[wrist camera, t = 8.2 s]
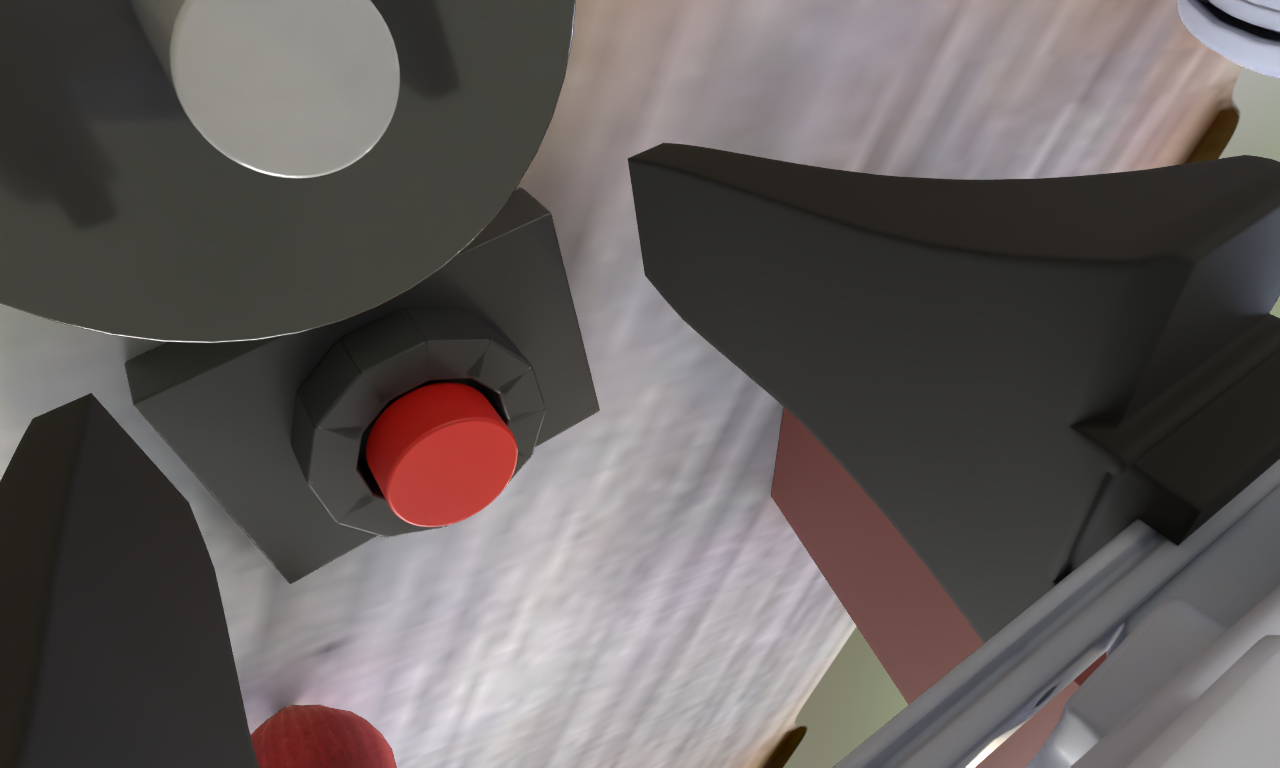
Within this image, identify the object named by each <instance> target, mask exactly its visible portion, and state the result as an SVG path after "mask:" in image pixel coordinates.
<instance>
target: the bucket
mask: <svg viewBox="0 0 1280 768" xmlns="http://www.w3.org/2000/svg"><path fill="white" fill-rule="evenodd" d="M771 497H772V498H773V500H774V501H775V503H776V504H777V506H778V507H779V509H780V510H781V512H782V513H783V515H784V516H785V518H786V519H787V521H788V522H789V524H790V525H791V527H792V528H793V530H794V531H795V533H796V534H797V536H798V538H799V539H800V541H801V542H802V544H803V545H804V547H805V548H806V550H807V551H808V553H809V554H810V556H811V557H812V559H813V560H814V562H815V563H816V565H817V566H818V568H819V569H820V571H821V572H822V574H823V576H824V577H825V579H826V580H827V582H828V583H829V585H830V586H831V588H832V589H833V591H834V592H835V594H836V595H837V597H838V598H839V600H840V601H841V603H842V604H843V606H844V607H845V609H846V610H847V612H848V613H849V615H850V617H851V618H852V620H853V621H854V623H855V624H856V626H857V627H858V629H859V630H860V632H861V633H862V635H863V636H864V638H865V639H866V641H867V642H868V644H869V645H870V647H871V648H872V650H873V651H874V653H875V654H876V656H877V658H878V659H879V661H880V662H881V664H882V665H883V667H884V668H885V670H886V671H887V673H888V674H889V676H890V677H891V679H892V680H893V682H894V683H895V685H896V686H897V688H898V689H899V691H900V692H901V694H902V696H903V697H904V699H905V700H906V702H907V703H908V705H910V704H911V703H912V702H913V701H914V700H916V699H917V698H918V697H919V696H921V695H922V694H923V693H924V692H926V691H927V690H928V689H929V688H930V687H932V686H933V685H934V684H935V683H937V682H938V681H939V680H940V679H941V678H943V677H944V676H945V675H946V674H948V673H949V672H950V671H951V670H953V669H954V668H955V667H956V666H957V665H959V664H960V663H961V662H962V661H964V660H965V659H966V658H967V657H968V656H970V655H971V654H972V653H973V652H975V651H976V650H977V649H978V648H980V647H981V646H982V645H983V644H984V643H983V642H982V640H981V639H980V637H979V636H978V635H977V633H976V632H975V630H974V629H973V628H972V626H971V625H970V623H969V622H968V620H967V619H966V618H965V616H964V615H963V614H962V613H961V611H960V610H959V609H958V607H957V606H956V605H955V603H954V602H953V601H952V599H951V598H950V597H949V595H948V594H947V593H946V591H945V590H944V589H943V587H942V586H941V585H940V583H939V582H938V581H937V579H936V578H935V577H934V575H933V574H932V573H931V571H930V570H929V569H928V568H927V566H926V565H925V564H924V562H923V561H922V560H921V559H920V558H919V556H918V555H917V554H916V553H915V551H914V550H913V549H912V548H911V546H910V545H909V544H908V543H907V542H906V540H905V539H904V538H903V537H902V535H901V534H900V533H899V532H898V531H897V529H896V528H895V527H894V526H893V524H892V523H891V522H890V521H889V520H888V518H887V517H886V516H885V515H884V513H883V512H882V511H881V510H880V509H879V508H878V506H877V505H876V504H875V503H874V502H873V501H872V500H871V498H870V497H869V496H868V495H867V494H866V493H865V492H864V490H863V489H862V488H861V487H860V486H859V485H858V484H857V482H856V481H855V480H854V479H853V478H852V477H851V476H850V474H849V473H848V472H847V471H846V470H845V469H844V468H843V466H842V465H841V464H840V463H839V462H838V461H837V460H836V459H835V458H834V457H833V456H832V455H831V454H830V453H829V451H828V450H827V449H826V448H825V447H824V446H823V445H822V444H821V443H820V442H819V441H818V440H817V439H816V438H815V437H814V435H813V434H812V433H811V432H810V431H809V430H808V429H807V428H806V427H805V426H804V425H803V424H802V423H801V422H800V421H799V420H798V419H797V418H796V417H795V416H794V415H793V414H792V413H790V412H789V411H788V410H787V409H786V408H785V407H784V408H783V415H782V422H781V429H780V436H779V443H778V450H777V457H776V464H775V471H774V478H773V485H772V492H771ZM1106 652H1107V651H1106ZM1106 652H1105V653H1104V654H1103V655H1101V656H1100V657H1099V658H1098V659H1097V660H1096V661H1095V662H1094V663H1092V664H1091V665H1090V666H1089V667H1088V668H1087V669H1086V670H1084V671H1083V672H1082V673H1081V674H1080V675H1079V676H1078V677H1077V678H1075V679H1074V680H1073V681H1072V682H1071V683H1070V684H1069V685H1067V686H1066V687H1065V688H1064V689H1063V690H1062V691H1061V692H1060V693H1058V694H1057V695H1056V696H1055V697H1054V698H1053V699H1052V700H1050V701H1049V702H1048V703H1047V704H1046V705H1045V706H1044V707H1043V708H1041V709H1040V710H1039V711H1038V712H1037V713H1036V714H1035V715H1033V716H1032V717H1031V718H1030V719H1029V720H1028V721H1027V722H1026V723H1024V724H1023V725H1022V726H1021V727H1020V728H1019V729H1018V730H1016V731H1015V732H1014V733H1013V734H1012V735H1011V736H1010V737H1009V738H1007V739H1006V740H1005V741H1004V742H1003V743H1002V744H1001V745H999V746H998V747H997V748H996V749H995V750H994V751H993V752H992V753H990V754H989V755H988V756H987V757H986V758H985V759H984V760H982V761H981V762H980V763H979V764H978V765H977V766H976V767H974V768H1026V767H1027V766H1028V765H1029V763H1030V762H1031V761H1032V759H1033V758H1034V757H1035V755H1036V754H1037V753H1038V752H1039V750H1040V749H1041V748H1042V746H1043V745H1044V744H1045V742H1046V741H1047V739H1048V737H1049V736H1050V734H1051V733H1052V731H1053V729H1054V728H1055V726H1056V725H1057V723H1058V721H1059V720H1060V718H1061V715H1062V712H1063V709H1064V706H1065V703H1066V701H1067V700H1068V699H1069V697H1070V696H1071V695H1072V694H1073V693H1074V692H1075V691H1076V690H1077V689H1078V688H1079V687H1080V686H1081V685H1082V684H1083V683H1084V682H1085V681H1086V679H1087V678H1088V677H1089V676H1090V675H1091V674H1092V673H1093V672H1094V671H1095V670H1096V669H1097V668H1098V667H1099V666H1100V665H1101V664H1102V663H1103V662H1104V660H1105V659H1106V658H1107V657H1106Z"/></svg>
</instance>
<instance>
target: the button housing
mask: <svg viewBox="0 0 1280 768" xmlns="http://www.w3.org/2000/svg"><path fill="white" fill-rule="evenodd" d="M125 368H126V373H127V378H128V382H129V387H130V392H131V396H132V401H133V405H134V406H135V407H136V408H137V409H138V410H139V412H140V413H141V414H142V415H143V416H144V417H145V418H146V420H147V421H148V422H149V423H150V424H151V425H152V426H153V428H154V429H155V430H156V431H157V432H158V433H159V434H160V436H161V437H162V438H163V439H164V440H165V441H166V443H167V444H168V445H169V446H170V447H171V448H172V449H173V451H174V452H175V453H176V454H177V455H178V456H179V457H180V459H181V460H182V461H183V462H184V463H185V464H186V465H187V467H188V468H189V469H190V470H191V471H192V472H193V473H194V475H195V476H196V477H197V478H198V479H199V480H200V482H201V483H202V484H203V485H204V486H205V487H206V488H207V490H208V491H209V492H210V493H211V494H212V495H213V496H214V498H215V499H216V500H217V501H218V502H219V503H220V504H221V506H222V507H223V508H224V509H225V510H226V511H227V513H228V514H229V515H230V516H231V517H232V518H233V519H234V521H235V522H236V523H237V524H238V525H239V526H240V527H241V529H242V530H243V531H244V532H245V533H246V534H247V535H248V537H249V538H250V539H251V540H252V541H253V542H254V543H255V545H256V546H257V547H258V548H259V549H260V550H261V552H262V553H263V554H264V555H265V556H266V557H267V558H268V560H269V561H270V562H271V563H272V564H273V565H274V566H275V568H276V569H277V570H278V571H279V572H280V573H281V574H282V576H283V577H284V578H285V579H286V580H287V581H288V583H290V584H292V583H294V582H295V581H297V580H299V579H301V578H303V577H304V576H306V575H308V574H310V573H312V572H313V571H315V570H317V569H319V568H320V567H322V566H324V565H326V564H328V563H329V562H331V561H333V560H335V559H336V558H338V557H340V556H342V555H344V554H345V553H347V552H349V551H351V550H353V549H354V548H356V547H358V546H360V545H361V544H363V543H365V542H367V541H369V540H370V539H372V538H374V537H376V536H377V535H379V536H383V537H386V536H387V537H393V536H398V535H404V534H409V533H415V532H421V531H426V530H432V529H438V528H442V527H443V526H438V527H422V526H416V525H412V524H410V523H407V522H405V521H404V520H402V519H400V518H399V517H398V516H396V515H395V514H394V513H393V511H392V510H391V509H390V507H389V505H388V503H387V501H386V499H385V497H384V495H383V493H382V491H381V489H380V487H379V485H378V483H377V481H376V480H375V478H374V476H373V474H372V472H371V470H370V468H369V466H368V462H367V459H366V446H367V440H368V436H369V434H370V431H371V429H372V427H373V425H374V423H375V422H376V420H377V419H378V418H379V416H380V415H381V414H382V413H383V412H384V410H385V409H386V408H387V407H388V406H390V405H391V404H392V403H393V402H394V401H396V400H397V399H398V398H400V397H401V396H403V395H405V394H406V393H408V392H410V391H412V390H415V389H417V388H419V387H422V386H425V385H429V384H434V383H441V382H454V383H461V384H464V385H468V386H470V387H472V388H475V389H476V390H478V391H479V392H481V393H482V394H483V395H484V396H485V397H486V399H487V400H488V401H489V403H490V404H491V405H492V407H493V408H494V409H495V411H496V412H497V413H498V415H499V416H500V417H501V419H502V420H503V421H504V423H505V424H506V425H507V427H508V428H509V430H510V431H511V432H512V434H513V435H514V437H515V440H516V443H517V450H518V457H517V464H516V468H515V470H514V473H513V475H512V477H511V479H512V478H513V477H514V476H515V475H516V474H517V472H518V471H519V470H520V469H521V468H522V467H523V465H524V464H525V463H526V462H527V461H528V460H529V458H530V457H531V455H532V454H533V451H534V448H535V447H536V446H538V445H540V444H542V443H543V442H545V441H547V440H549V439H550V438H552V437H554V436H556V435H558V434H559V433H561V432H563V431H565V430H567V429H568V428H570V427H572V426H574V425H575V424H577V423H579V422H581V421H583V420H584V419H586V418H588V417H590V416H592V415H593V414H595V413H597V412H599V411H600V409H599V405H598V401H597V397H596V393H595V389H594V385H593V381H592V377H591V373H590V369H589V365H588V361H587V357H586V353H585V349H584V344H583V340H582V336H581V332H580V328H579V324H578V320H577V316H576V312H575V308H574V304H573V300H572V296H571V292H570V288H569V284H568V280H567V276H566V272H565V268H564V264H563V260H562V256H561V252H560V248H559V244H558V240H557V236H556V232H555V228H554V223H553V219H552V215H551V213H550V212H549V211H548V210H547V209H546V208H545V207H544V206H542V205H541V204H540V203H539V202H538V201H537V200H535V199H534V198H533V197H532V196H531V195H530V194H528V193H527V192H526V191H525V190H524V189H523V188H521V189H518V190H516V191H514V192H513V193H512V194H511V196H510V197H509V198H508V200H507V201H506V202H505V204H504V205H503V207H502V208H501V209H500V211H499V212H498V213H497V215H496V216H495V217H494V218H493V219H492V220H491V221H490V222H489V224H488V225H487V226H486V227H485V228H484V229H483V230H482V231H481V232H480V233H479V234H478V235H477V236H476V238H475V239H474V240H473V241H472V242H471V243H470V244H469V245H467V246H466V247H465V248H464V249H463V250H462V251H461V252H459V253H458V254H457V255H456V256H455V257H454V258H452V259H451V260H450V261H449V262H448V263H447V264H445V265H444V266H443V267H442V268H440V269H439V270H437V271H436V272H434V273H433V274H432V275H430V276H429V277H427V278H426V279H424V280H423V281H421V282H420V283H418V284H417V285H415V286H414V287H412V288H411V289H409V290H407V291H405V292H404V293H402V294H400V295H398V296H396V297H394V298H392V299H390V300H388V301H387V302H385V303H383V304H381V305H379V306H377V307H375V308H372V309H370V310H367V311H365V312H362V313H360V314H357V315H355V316H352V317H350V318H347V319H345V320H342V321H340V322H336V323H333V324H329V325H325V326H322V327H318V328H315V329H311V330H308V331H304V332H300V333H295V334H289V335H283V336H277V337H272V338H266V339H260V340H250V341H235V342H220V343H191V342H171V343H168V344H166V345H164V346H162V347H159V348H157V349H155V350H152V351H150V352H148V353H146V354H143V355H141V356H139V357H137V358H134V359H132V360H130V361H127V362H126V363H125ZM511 479H510V480H511ZM509 482H510V481H509ZM509 482H508V483H509ZM446 526H448V525H445V526H444V527H446Z"/></svg>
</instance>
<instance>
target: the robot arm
mask: <svg viewBox="0 0 1280 768" xmlns="http://www.w3.org/2000/svg"><path fill="white" fill-rule="evenodd" d="M1177 4H1178V13H1179V15H1180V18H1181V20H1182V23H1183V24H1184V26H1185V27H1186V28H1187V29H1188V30H1189V32H1190V33H1191V34H1192V35H1193V36H1194V37H1195V38H1197V39H1198V40H1199V41H1200V42H1202V43H1203V44H1204V45H1206V46H1207V47H1208V48H1210V49H1212V50H1213V51H1215V52H1217V53H1219V54H1221V55H1222V56H1224V57H1225V58H1227V59H1228V60H1230V61H1232V62H1234V63H1236V64H1238V65H1240V66H1242V67H1244V68H1247V69H1249V70H1252V71H1255V72H1258V73H1261V74H1264V75H1268V76H1271V77H1275V78H1279V79H1280V0H1177ZM628 163H629V170H630V177H631V184H632V191H633V197H634V204H635V211H636V218H637V225H638V231H639V238H640V245H641V252H642V259H643V265H644V272H645V276H646V277H647V278H648V279H649V281H650V282H651V283H652V284H653V285H654V287H655V288H656V289H657V290H658V291H659V293H660V294H661V295H662V296H663V297H664V299H665V300H666V301H667V302H668V303H669V304H670V305H671V307H672V308H673V309H674V310H675V311H676V312H677V313H678V314H679V315H680V317H681V318H682V319H683V320H684V321H685V322H686V323H687V324H689V325H690V326H691V327H692V328H693V329H694V330H695V331H696V332H698V333H699V334H700V335H701V336H702V337H703V338H705V339H706V340H707V341H708V342H709V343H710V344H711V345H713V346H714V347H715V348H716V349H717V350H718V351H719V352H721V353H722V354H723V355H724V356H725V357H727V358H728V359H729V360H730V361H731V362H732V363H734V364H735V365H736V366H737V367H738V368H740V369H741V370H742V371H743V372H744V373H745V374H747V375H748V376H749V377H750V378H751V379H752V380H754V381H755V382H756V383H757V384H758V385H760V386H761V387H762V388H763V389H764V390H765V391H767V392H768V393H769V394H770V395H771V396H773V397H774V398H775V399H776V400H777V401H778V402H780V403H781V404H782V405H783V406H784V407H785V408H786V409H787V410H788V411H789V412H790V413H792V414H793V415H794V416H795V417H796V418H797V419H798V420H799V421H800V422H801V423H802V424H803V425H804V426H805V427H806V428H807V429H808V430H809V431H810V432H811V433H812V434H813V435H814V437H815V438H816V439H817V440H818V441H819V442H820V443H821V444H822V445H823V446H824V447H825V448H826V449H827V450H828V451H829V453H830V454H831V455H832V456H833V457H834V458H835V459H836V460H837V461H838V462H839V463H840V464H841V465H842V466H843V468H844V469H845V470H846V471H847V472H848V473H849V474H850V476H851V477H852V478H853V479H854V480H855V481H856V482H857V484H858V485H859V486H860V487H861V488H862V489H863V490H864V492H865V493H866V494H867V495H868V496H869V497H870V498H871V500H872V501H873V502H874V503H875V504H876V505H877V506H878V508H879V509H880V510H881V511H882V512H883V513H884V515H885V516H886V517H887V518H888V520H889V521H890V522H891V523H892V524H893V526H894V527H895V528H896V529H897V531H898V532H899V533H900V534H901V535H902V537H903V538H904V539H905V540H906V542H907V543H908V544H909V545H910V546H911V548H912V549H913V550H914V551H915V553H916V554H917V555H918V556H919V558H920V559H921V560H922V561H923V562H924V564H925V565H926V566H927V568H928V569H929V570H930V571H931V573H932V574H933V575H934V577H935V578H936V579H937V581H938V582H939V583H940V585H941V586H942V587H943V589H944V590H945V591H946V593H947V594H948V595H949V597H950V598H951V599H952V601H953V602H954V603H955V605H956V606H957V607H958V609H959V610H960V611H961V613H962V614H963V615H964V616H965V618H966V619H967V620H968V622H969V623H970V625H971V626H972V628H973V629H974V630H975V632H976V633H977V635H978V636H979V637H980V639H981V640H982V642H983V643H984V644H983V645H982V646H981V647H980V648H978V649H977V650H976V651H975V652H973V653H972V654H971V655H970V656H968V657H967V658H966V659H965V660H964V661H962V662H961V663H960V664H959V665H957V666H956V667H955V668H954V669H953V670H951V671H950V672H949V673H948V674H946V675H945V676H944V677H943V678H941V679H940V680H939V681H938V682H937V683H935V684H934V685H933V686H932V687H930V688H929V689H928V690H927V691H926V692H924V693H923V694H922V695H921V696H919V697H918V698H917V699H916V700H914V701H913V702H912V703H911V704H910V705H908V706H907V707H906V708H905V709H903V710H902V711H901V712H900V713H899V714H897V715H896V716H895V717H894V718H893V719H891V720H890V721H889V722H887V723H886V724H885V725H884V726H883V727H881V728H880V729H879V730H878V731H877V732H875V733H874V734H873V735H871V736H870V737H869V738H868V739H867V740H865V741H864V742H863V743H862V744H861V745H859V746H858V747H857V748H856V749H854V750H853V751H852V752H851V753H850V754H848V755H847V756H846V757H844V758H843V759H842V760H841V761H840V762H838V763H837V764H836V765H835V766H833V767H832V768H974V767H976V766H977V765H978V764H979V763H980V762H981V761H982V760H984V759H985V758H986V757H987V756H988V755H989V754H990V753H992V752H993V751H994V750H995V749H996V748H997V747H998V746H999V745H1001V744H1002V743H1003V742H1004V741H1005V740H1006V739H1007V738H1009V737H1010V736H1011V735H1012V734H1013V733H1014V732H1015V731H1016V730H1018V729H1019V728H1020V727H1021V726H1022V725H1023V724H1024V723H1026V722H1027V721H1028V720H1029V719H1030V718H1031V717H1032V716H1033V715H1035V714H1036V713H1037V712H1038V711H1039V710H1040V709H1041V708H1043V707H1044V706H1045V705H1046V704H1047V703H1048V702H1049V701H1050V700H1052V699H1053V698H1054V697H1055V696H1056V695H1057V694H1058V693H1060V692H1061V691H1062V690H1063V689H1064V688H1065V687H1066V686H1067V685H1069V684H1070V683H1071V682H1072V681H1073V680H1074V679H1075V678H1077V677H1078V676H1079V675H1080V674H1081V673H1082V672H1083V671H1084V670H1086V669H1087V668H1088V667H1089V666H1090V665H1091V664H1092V663H1094V662H1095V661H1096V660H1097V659H1098V658H1099V657H1100V656H1101V655H1103V654H1104V653H1105V652H1106V651H1107V652H1106V657H1107V658H1106V659H1105V660H1104V662H1103V663H1102V664H1101V665H1100V666H1099V667H1098V668H1097V669H1096V670H1095V671H1094V672H1093V673H1092V674H1091V675H1090V676H1089V677H1088V678H1087V679H1086V681H1085V682H1084V683H1083V684H1082V685H1081V686H1080V687H1079V688H1078V689H1077V690H1076V691H1075V692H1074V693H1073V694H1072V695H1071V696H1070V697H1069V699H1068V700H1067V701H1066V703H1065V706H1064V709H1063V712H1062V715H1061V718H1060V720H1059V721H1058V723H1057V725H1056V726H1055V728H1054V729H1053V731H1052V733H1051V734H1050V736H1049V737H1048V739H1047V741H1046V742H1045V744H1044V745H1043V746H1042V748H1041V749H1040V750H1039V752H1038V753H1037V754H1036V755H1035V757H1034V758H1033V759H1032V761H1031V762H1030V763H1029V765H1028V766H1027V767H1026V768H1280V318H1278V317H1275V316H1273V315H1271V314H1269V313H1270V311H1271V310H1272V308H1273V306H1274V304H1275V303H1276V301H1277V299H1278V298H1279V296H1280V162H1278V161H1275V160H1272V159H1268V158H1263V157H1257V156H1247V155H1242V156H1236V157H1229V158H1222V159H1215V160H1209V161H1202V162H1195V163H1188V164H1182V165H1175V166H1168V167H1161V168H1154V169H1148V170H1139V171H1130V172H1119V173H1109V174H1098V175H1087V176H1075V177H1059V178H1042V179H1004V180H952V179H932V178H913V177H897V176H885V175H875V174H867V173H859V172H851V171H843V170H835V169H827V168H821V167H814V166H808V165H801V164H795V163H789V162H784V161H778V160H772V159H767V158H761V157H756V156H750V155H745V154H739V153H733V152H728V151H722V150H717V149H711V148H704V147H698V146H691V145H683V144H672V143H662V144H660V145H658V146H655V147H653V148H651V149H649V150H646V151H644V152H642V153H639V154H637V155H635V156H633V157H630V158H628ZM0 768H259V765H258V762H257V758H256V754H255V751H254V747H253V743H252V739H251V736H250V732H249V728H248V724H247V719H246V714H245V710H244V705H243V700H242V695H241V691H240V686H239V681H238V676H237V671H236V667H235V662H234V657H233V652H232V647H231V643H230V638H229V633H228V628H227V624H226V619H225V614H224V610H223V605H222V601H221V596H220V591H219V587H218V583H217V578H216V574H215V569H214V566H213V564H212V561H211V558H210V556H209V553H208V550H207V548H206V545H205V542H204V539H203V537H202V534H201V532H200V529H199V527H198V524H197V522H196V519H195V517H194V514H193V512H192V509H191V507H190V504H189V502H188V501H187V500H186V499H185V498H184V497H183V495H182V494H181V493H180V492H179V491H178V490H177V489H176V488H175V486H174V485H173V484H172V483H171V482H170V481H169V480H168V479H167V477H166V476H165V475H164V474H163V473H162V472H161V471H160V470H159V469H158V467H157V466H156V465H155V464H154V463H153V462H152V461H151V460H150V458H149V457H148V456H147V455H146V454H145V453H144V452H143V451H142V449H141V448H140V447H139V446H138V445H137V444H136V443H135V442H134V440H133V439H132V438H131V437H130V436H129V435H128V434H127V433H126V432H125V430H124V429H123V428H122V427H121V426H120V425H119V424H118V423H117V421H116V420H115V419H114V418H113V417H112V416H111V415H110V414H109V412H108V411H107V410H106V409H105V408H104V407H103V406H102V405H101V404H100V402H99V401H98V400H97V399H96V398H95V397H94V396H93V395H92V393H90V394H88V395H86V396H84V397H81V398H79V399H77V400H74V401H72V402H70V403H68V404H65V405H63V406H61V407H58V408H56V409H54V410H52V411H49V412H47V413H45V414H42V415H40V416H38V417H36V418H33V420H32V421H31V423H30V425H29V426H28V428H27V430H26V432H25V433H24V435H23V437H22V439H21V441H20V443H19V445H18V447H17V449H16V451H15V453H14V455H13V457H12V459H11V461H10V463H9V465H8V467H7V469H6V471H5V473H4V475H3V477H2V479H1V482H0Z"/></svg>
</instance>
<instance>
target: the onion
mask: <svg viewBox="0 0 1280 768" xmlns="http://www.w3.org/2000/svg"><path fill="white" fill-rule="evenodd" d="M250 736H251V739H252V743H253V747H254V751H255V754H256V758H257V762H258V765H259V768H397V767H396V763H395V759H394V755H393V751H392V748H391V747H390V746H389V744H388V743H387V741H386V740H385V738H384V737H383V735H382V734H381V733H380V732H379V731H378V730H377V729H376V728H375V727H374V726H372V725H371V724H370V723H369V722H368V721H367V720H365V719H363V718H362V717H360V716H358V715H356V714H354V713H353V712H351V711H345V710H340V709H334V708H330V707H326V706H322V705H303V706H302V705H291V706H288V707H284V708H282V709H281V710H279V711H278V712H277V713H276V714H274V715H273V716H272V717H270V718H269V719H267V720H266V721H265V722H264V723H263V724H262V725H261V726H259V727H258V728H257V729H256V730H255V731H254V732H253V733H252V734H251V735H250Z"/></svg>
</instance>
